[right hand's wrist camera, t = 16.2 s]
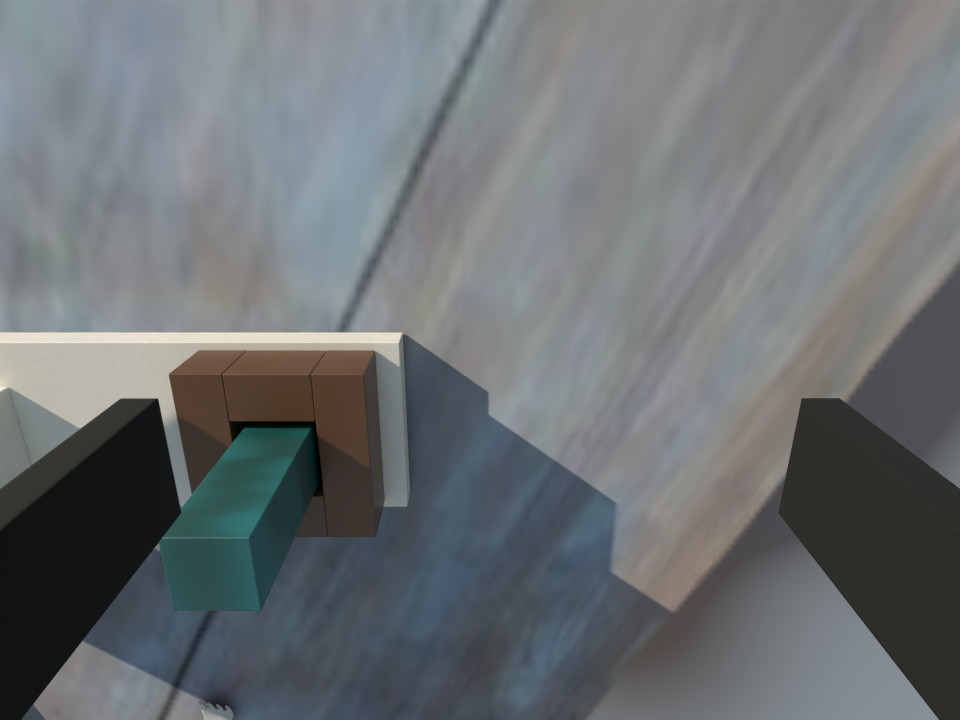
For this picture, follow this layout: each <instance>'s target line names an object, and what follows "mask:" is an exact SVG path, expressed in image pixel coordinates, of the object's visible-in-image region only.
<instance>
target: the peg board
mask: <svg viewBox="0 0 960 720" xmlns="http://www.w3.org/2000/svg"><path fill="white" fill-rule="evenodd" d="M121 398H158V400H159V405H160V410H161V415H162V420H163V425H164V430H165V434H166V439H167V444H168V449H169V454H170V459H171V464H172V469H173V474H174V479H175V484H176V489H177V493H178V498H179V503H180V507H182V506H183V505H184V504H185V503H186V501H187V500H188V499H189V497H190V496H191V495H192V494H193V492H194V491H195V490H196V489H197V487H198V486H199V485H200V484H201V482H202V481H203V480H204V478H205V477H206V476H207V475H208V473H209V472H210V471H211V470H212V468H213V467H214V466H215V465H216V463H217V462H218V461H219V459H220V458H221V457H222V456H223V454H224V453H225V452H226V451H227V449H228V448H229V447H230V446H231V444H232V443H233V442H234V440H235V439H236V438H237V437H238V435H239V434H240V433H241V432H242V430H243V429H244V428H245V426H246V425H247V424H248V423H249V421H316V427H317V436H318V446H319V455H320V465H321V474H322V478H321V480H320V482H319V484H318V487H317V489H316V491H315V493H314V495H313V498H312V500H311V502H310V504H309V506H308V509H307V511H306V513H305V515H304V517H303V520H302V522H301V524H300V526H299V528H298V531H297V533H296V535H295V537H327V536H328V537H375V536H376V533H377V529H378V525H379V521H380V517H381V513H382V510H383V507H407V505H408V500H409V494H410V476H409V454H408V433H407V412H406V390H405V369H404V347H403V333H23V332H0V489H1V488H2V487H3V486H5V485H6V484H7V483H9V482H10V481H11V480H13V479H14V478H15V477H17V476H18V475H19V474H21V473H22V472H23V471H25V470H26V469H27V468H29V467H30V466H31V465H33V464H34V463H35V462H37V461H38V460H39V459H41V458H42V457H43V456H45V455H46V454H47V453H49V452H50V451H51V450H53V449H54V448H55V447H57V446H58V445H59V444H61V443H62V442H63V441H65V440H66V439H67V438H69V437H70V436H71V435H73V434H74V433H75V432H77V431H78V430H79V429H81V428H82V427H83V426H85V425H86V424H87V423H89V422H90V421H91V420H93V419H94V418H95V417H97V416H98V415H99V414H101V413H102V412H103V411H105V410H106V409H107V408H109V407H110V406H111V405H113V404H114V403H115V402H117V401H118V400H119V399H121Z"/></svg>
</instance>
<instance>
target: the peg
mask: <svg viewBox="0 0 960 720" xmlns="http://www.w3.org/2000/svg"><path fill="white" fill-rule="evenodd" d="M321 478H322V474H321V465H320V455H319V446H318V436H317V427H316V421H249V423H248V424H247V425H246V426H245V428H244V429H243V430H242V432H241V433H240V434H239V435H238V437H237V438H236V439H235V440H234V442H233V443H232V444H231V446H230V447H229V448H228V449H227V451H226V452H225V453H224V454H223V456H222V457H221V458H220V459H219V461H218V462H217V463H216V465H215V466H214V467H213V468H212V470H211V471H210V472H209V473H208V475H207V476H206V477H205V478H204V480H203V481H202V482H201V484H200V485H199V486H198V487H197V489H196V490H195V491H194V492H193V494H192V495H191V496H190V497H189V499H188V500H187V501H186V503H185V504H184V505H183V506H182V508H181V514H180V516H179V517H178V518H177V519H176V521H175V522H174V523H173V525H172V526H171V527H170V528H169V530H168V531H167V532H166V534H165V535H164V536H163V537H162V539H161V540H160V541H159V546H160V551H161V555H162V560H163V564H164V569H165V573H166V578H167V582H168V587H169V591H170V596H171V600H172V605H173V609H174V610H175V611H260V610H262V608H263V605H264V603H265V601H266V599H267V597H268V594H269V592H270V590H271V588H272V586H273V583H274V581H275V579H276V577H277V575H278V572H279V570H280V568H281V566H282V564H283V561H284V559H285V557H286V555H287V553H288V550H289V548H290V546H291V544H292V542H293V539H294V537H295V535H296V533H297V531H298V528H299V526H300V524H301V522H302V520H303V517H304V515H305V513H306V511H307V509H308V506H309V504H310V502H311V500H312V498H313V495H314V493H315V491H316V489H317V487H318V484H319V482H320V480H321Z"/></svg>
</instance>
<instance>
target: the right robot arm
mask: <svg viewBox="0 0 960 720" xmlns="http://www.w3.org/2000/svg"><path fill="white" fill-rule="evenodd" d="M180 514H181V508H180V503H179V498H178V493H177V489H176V484H175V479H174V474H173V469H172V464H171V459H170V454H169V449H168V444H167V439H166V434H165V430H164V425H163V420H162V415H161V410H160V405H159V400H158V398H121V399H119V400H118V401H117V402H115V403H114V404H113V405H111V406H110V407H109V408H107V409H106V410H105V411H103V412H102V413H101V414H99V415H98V416H97V417H95V418H94V419H93V420H91V421H90V422H89V423H87V424H86V425H85V426H83V427H82V428H81V429H79V430H78V431H77V432H75V433H74V434H73V435H71V436H70V437H69V438H67V439H66V440H65V441H63V442H62V443H61V444H59V445H58V446H57V447H55V448H54V449H53V450H51V451H50V452H49V453H47V454H46V455H45V456H43V457H42V458H41V459H39V460H38V461H37V462H35V463H34V464H33V465H31V466H30V467H29V468H27V469H26V470H25V471H23V472H22V473H21V474H19V475H18V476H17V477H15V478H14V479H13V480H11V481H10V482H9V483H7V484H6V485H5V486H3V487H2V488H1V489H0V720H21V719H22V718H23V716H24V715H25V714H26V712H27V711H28V710H29V709H30V707H31V706H32V705H33V703H34V702H35V701H36V700H37V698H38V697H39V696H40V694H41V693H42V692H43V691H44V689H45V688H46V687H47V685H48V684H49V683H50V682H51V680H52V679H53V678H54V676H55V675H56V674H57V673H58V671H59V670H60V669H61V667H62V666H63V665H64V664H65V662H66V661H67V660H68V658H69V657H70V656H71V655H72V653H73V652H74V651H75V649H76V648H77V647H78V646H79V644H80V643H81V642H82V640H83V639H84V638H85V637H86V635H87V634H88V633H89V631H90V630H91V629H92V628H93V626H94V625H95V624H96V622H97V621H98V620H99V619H100V617H101V616H102V615H103V613H104V612H105V611H106V609H107V608H108V607H109V606H110V604H111V603H112V602H113V600H114V599H115V598H116V597H117V595H118V594H119V593H120V591H121V590H122V589H123V588H124V586H125V585H126V584H127V582H128V581H129V580H130V579H131V577H132V576H133V575H134V573H135V572H136V571H137V570H138V568H139V567H140V566H141V564H142V563H143V562H144V561H145V559H146V558H147V557H148V555H149V554H150V553H151V552H152V550H153V549H154V548H155V546H156V545H157V544H158V543H159V541H160V540H161V539H162V537H163V536H164V535H165V534H166V532H167V531H168V530H169V528H170V527H171V526H172V525H173V523H174V522H175V521H176V519H177V518H178V517H179V516H180ZM779 514H780V516H781V517H782V518H783V519H784V521H785V522H786V523H787V525H788V526H789V527H790V528H791V530H792V531H793V532H794V533H795V535H796V536H797V537H798V539H799V540H800V541H801V543H802V544H803V545H804V546H805V548H806V549H807V550H808V552H809V553H810V554H811V555H812V557H813V558H814V559H815V561H816V562H817V563H818V564H819V566H820V567H821V568H822V570H823V571H824V572H825V573H826V575H827V576H828V577H829V579H830V580H831V581H832V582H833V584H834V585H835V586H836V588H837V589H838V590H839V591H840V593H841V594H842V595H843V597H844V598H845V599H846V600H847V602H848V603H849V604H850V606H851V607H852V608H853V609H854V611H855V612H856V613H857V615H858V616H859V617H860V619H861V620H862V621H863V622H864V624H865V625H866V626H867V628H868V629H869V630H870V631H871V633H872V634H873V635H874V637H875V638H876V639H877V640H878V642H879V643H880V644H881V646H882V647H883V648H884V649H885V651H886V652H887V653H888V655H889V656H890V657H891V658H892V660H893V661H894V662H895V664H896V665H897V666H898V667H899V669H900V670H901V671H902V673H903V674H904V675H905V676H906V678H907V679H908V680H909V681H910V683H911V684H912V685H913V687H914V688H915V689H916V691H917V692H918V693H919V694H920V696H921V697H922V698H923V700H924V701H925V702H926V703H927V705H928V706H929V707H930V709H931V710H932V711H933V712H934V714H935V715H936V716H937V718H938V719H939V720H960V489H959V488H958V487H957V486H955V485H954V484H953V483H951V482H950V481H949V480H947V479H946V478H945V477H943V476H942V475H941V474H939V473H938V472H937V471H935V470H934V469H933V468H931V467H930V466H929V465H927V464H926V463H925V462H923V461H922V460H921V459H919V458H918V457H917V456H915V455H914V454H913V453H911V452H910V451H909V450H907V449H906V448H905V447H903V446H902V445H901V444H899V443H898V442H897V441H895V440H894V439H893V438H891V437H890V436H889V435H887V434H886V433H885V432H883V431H882V430H881V429H879V428H878V427H877V426H875V425H874V424H873V423H871V422H870V421H869V420H867V419H866V418H865V417H863V416H862V415H861V414H859V413H858V412H857V411H855V410H854V409H853V408H851V407H850V406H849V405H847V404H846V403H845V402H843V401H842V400H841V399H839V398H802V400H801V405H800V410H799V415H798V420H797V425H796V430H795V434H794V439H793V444H792V449H791V454H790V459H789V464H788V469H787V474H786V479H785V484H784V489H783V494H782V498H781V503H780V508H779Z"/></svg>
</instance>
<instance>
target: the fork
mask: <svg viewBox="0 0 960 720" xmlns="http://www.w3.org/2000/svg"><path fill="white" fill-rule="evenodd" d="M198 704H200V705H201V706H202V713H203V716H204V719H205V720H232V719H233V717H234V714H233V711H232V710H231V708H230V707H229V706H227V705H226V706H225V708H226V709H227V710H224V709H223V708H222V707H221V706H220V705H219V704H217V705H216V707H218V708H219V709H216V708H215V707H214V706H213V705H212V704H211V703H209V702H208V704H207V705H209V706H210V708H209V707H207V706H206V705H205V704H204V703H203V702H201V701H199V702H198Z"/></svg>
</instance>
